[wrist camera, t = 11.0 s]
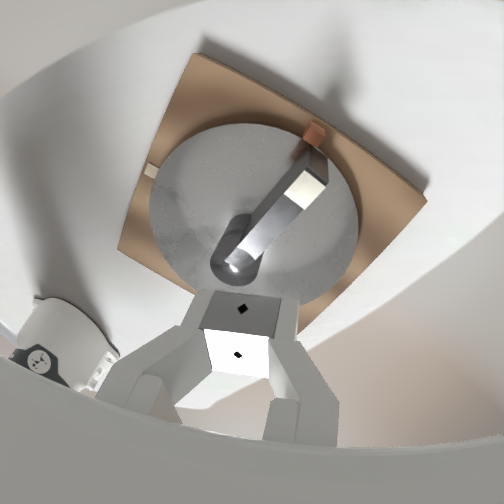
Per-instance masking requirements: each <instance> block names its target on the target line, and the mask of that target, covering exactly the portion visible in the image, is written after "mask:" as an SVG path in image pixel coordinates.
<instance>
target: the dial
mask: <svg viewBox="0 0 504 504" xmlns="http://www.w3.org/2000/svg"><path fill="white" fill-rule="evenodd" d="M149 217H150V224H151V229H152V232H153V235H154V239H155V241H156V243H157V246H158V248H159V250H160V252H161V253H162V255H163V257H164V258H165V260H166V261H167V263H168V264H169V265H170V267H171V268H172V269H173V270H174V271H175V272H176V273H177V275H178V276H179V277H180V278H181V279H183V280H184V281H185V282H186V283H187V284H188V285H190V286H191V287H192V288H194V289H195V290H196V291H198V290H199V289H208V290H215V291H216V290H218V291H226V292H234V293H242V294H251V295H262V296H273V297H289V298H299V299H300V303H299V306H301V305H304V304H306V303H309V302H311V301H313V300H315V299H317V298H318V297H320V296H321V295H323V294H324V293H326V292H327V291H329V290H330V289H331V288H332V287H333V286H334V285H335V284H336V283H337V282H338V281H339V280H340V278H341V277H342V276H343V275H344V273H345V272H346V270H347V268H348V267H349V265H350V263H351V261H352V258H353V256H354V253H355V249H356V245H357V241H358V228H359V227H358V215H357V210H356V205H355V201H354V197H353V195H352V192H351V190H350V187H349V185H348V183H347V181H346V179H345V178H344V176H343V174H342V173H341V171H340V170H339V168H338V167H337V166H336V165H335V163H334V162H333V161H332V160H331V159H330V158H329V157H328V156H327V155H326V154H325V153H324V152H323V151H322V150H321V149H320V148H316V147H315V146H313V145H311V144H310V143H308V142H307V141H305V140H304V139H303V137H301V136H299V135H297V134H296V133H294V132H292V131H289V130H286V129H283V128H280V127H277V126H273V125H268V124H263V123H255V122H236V123H227V124H223V125H218V126H214V127H211V128H209V129H206V130H204V131H201V132H199V133H197V134H196V135H194V136H192V137H191V138H189V139H187V140H186V141H184V142H183V143H182V144H181V145H179V146H178V147H177V148H176V149H175V150H174V151H173V152H172V153H171V154H170V155H169V156H168V157H167V158H166V159H165V161H164V162H163V164H162V166H161V167H160V169H159V170H158V172H157V175H156V177H155V179H154V182H153V185H152V189H151V192H150V200H149Z"/></svg>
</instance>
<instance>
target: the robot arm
mask: <svg viewBox="0 0 504 504" xmlns="http://www.w3.org/2000/svg"><path fill="white" fill-rule="evenodd" d="M299 303H300V299H299V298H289V297H273V296H262V295H251V294H242V293H234V292H226V291H218V290H216V291H215V290H208V289H199V290H198V291H197V293H196V295H195V297H194V299H193V301H192V303H191V305H190V307H189V309H188V311H187V313H186V315H185V317H184V319H183V321H182V323H181V325H180V326H176V325H175V326H174V327H172V328H171V329H169V330H167V331H166V332H164V333H163V334H161V335H159V336H158V337H156V338H155V339H153V340H151V341H150V342H148V343H147V344H145V345H143V346H142V347H140V348H138V349H137V350H135V351H134V352H132V353H130V354H129V355H127V356H125V357H124V358H122V359H121V360H119V361H118V359H119V358H120V356H119V354H118V353H117V352H116V351H115V350H114V349H113V348H112V347H111V346H110V345H109V343H108V342H107V340H106V338H105V337H104V335H103V334H102V332H101V331H100V329H99V328H98V327H97V326H96V325H95V324H94V323H93V322H92V321H91V320H90V319H89V318H88V317H87V316H86V315H85V314H84V313H82V312H81V311H80V310H79V309H77V308H76V307H74V306H73V305H71V304H69V303H67V302H65V301H63V300H60V299H57V298H47V299H45V300H40V299H34V300H33V302H32V308H33V312H32V314H31V315H30V317H29V318H28V319H27V321H26V322H25V324H24V325H23V327H22V328H21V330H20V331H19V333H18V334H17V342H18V349H15V351H14V352H13V353H12V354H11V355H10V357H9V358H8V359H7V358H5V357H3V356H1V355H0V504H504V434H500V435H495V436H490V437H485V438H479V439H472V440H466V441H458V442H451V443H443V444H432V445H421V446H405V447H372V448H371V447H367V448H366V447H337V434H338V418H339V401H338V399H337V398H336V396H335V395H334V393H333V392H332V390H331V389H330V387H329V386H328V384H327V383H326V381H325V379H324V378H323V376H322V375H321V373H320V372H319V370H318V369H317V367H316V366H315V365H314V363H313V361H312V360H311V358H310V356H309V355H308V353H307V352H306V350H305V349H304V347H303V346H302V344H301V343H300V341H296V338H297V327H298V316H299ZM110 368H111V369H110ZM109 369H110V371H109V373H108V375H107V376H106V378H105V380H104V382H103V383H102V385H101V387H100V389H99V391H98V392H97V394H96V396H95V398H94V397H91V396H88V395H86V394H83V393H80V391H81V390H83V389H84V387H86V388H88V389H89V390H91V391H93V389H94V388H95V386H96V384H97V382H98V381H97V380H99V379H100V378H101V377H102V376H103V375H104V374H105V373H106V372H107V371H108V370H109ZM212 370H217V371H225V372H232V373H240V374H246V375H252V376H259V377H266V378H268V380H269V383H270V384H271V387H272V389H273V392H274V393H275V396H276V399H274V400H273V401H271V403H270V408H269V412H268V417H267V421H266V426H265V431H264V435H263V439H262V440H258V439H252V438H246V437H239V436H234V435H228V434H223V433H217V432H212V431H208V430H203V429H198V428H194V427H190V426H185V425H182V424H183V423H182V421H181V419H180V417H179V415H178V413H177V411H176V409H175V407H174V405H175V404H176V403H177V402H178V401H179V400H181V399H182V398H183V397H184V396H185V395H186V394H188V393H189V392H190V391H191V390H192V389H193V388H194V387H195V386H197V385H198V384H199V383H200V382H201V381H202V380H203V379H204V378H206V377H207V376H208V375H209V374H210V373H211V372H212Z"/></svg>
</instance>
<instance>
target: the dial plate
mask: <svg viewBox="0 0 504 504" xmlns="http://www.w3.org/2000/svg"><path fill="white" fill-rule="evenodd" d="M236 122H255V123H263V124H268V125H273V126H277V127H280V128H283V129H286V130H289V131H292V132H294V133H296V134H297V135H299V136H301V137H303V139H304V140H305V141H307V142H308V143H310V144H311V145H313V146H315V147H316V148H320V149H321V150H322V151H323V152H324V153H325V154H326V155H327V156H328V157H329V158H330V159H331V160H332V161H333V162H334V163H335V165H336V166H337V167H338V168H339V170H340V171H341V173H342V174H343V176H344V178H345V179H346V181H347V183H348V185H349V187H350V190H351V192H352V195H353V197H354V201H355V205H356V210H357V215H358V227H359V228H358V241H357V245H356V249H355V253H354V256H353V258H352V261H351V263H350V265H349V267H348V268H347V270H346V272H345V273H344V275H343V276H342V277H341V278H340V280H339V281H338V282H337V283H336V284H335V285H334V286H333V287H332V288H331V289H330V290H329V291H327V292H326V293H324V294H323V295H321V296H320V297H318V298H317V299H315V300H313V301H311V302H309V303H306V304H304V305H301V306H299V316H298V327H297V335H298V334H299V333H300V332H301V331H302V330H303V329H304V328H305V327H307V326H308V325H309V324H310V323H311V322H312V321H313V320H314V319H315V318H316V317H317V316H318V315H319V314H320V313H322V312H323V311H324V310H325V309H326V308H327V307H328V306H329V305H330V304H331V303H332V302H333V301H334V300H335V299H336V298H337V297H338V296H339V295H340V294H341V293H342V292H343V291H344V290H345V289H346V288H347V287H348V286H349V285H350V284H351V283H352V282H353V281H354V280H355V279H356V278H357V277H358V276H359V275H360V274H361V273H362V272H363V271H364V270H365V269H366V268H367V267H368V266H369V265H370V264H371V263H372V262H373V261H374V260H375V259H376V258H377V257H378V256H379V255H380V254H381V253H382V252H383V250H384V249H385V248H386V247H387V246H388V245H389V244H390V243H391V242H392V241H393V240H394V239H395V238H396V236H397V235H398V234H399V233H400V232H401V231H402V230H403V229H404V228H405V227H406V225H407V224H408V223H409V222H410V221H411V220H412V219H413V218H414V216H415V215H416V214H417V213H418V212H419V211H420V210H421V208H422V207H423V206H424V205H425V204H426V203H427V200H426V198H425V197H424V195H423V194H422V193H421V192H420V191H419V190H418V189H416V188H415V187H414V186H413V185H411V184H410V183H409V182H408V181H407V180H405V179H404V178H403V177H402V176H400V175H399V174H398V173H396V172H395V171H394V170H393V169H391V168H390V167H389V166H387V165H386V164H385V163H384V162H382V161H381V160H380V159H378V158H377V157H376V156H374V155H373V154H371V153H370V152H369V151H367V150H366V149H365V148H363V147H362V146H360V145H359V144H358V143H356V142H355V141H353V140H352V139H350V138H349V137H348V136H346V135H345V134H343V133H342V132H340V131H339V130H337V129H336V128H334V127H333V126H331V125H330V124H328V123H327V122H325V121H323V120H322V119H320V118H319V117H317V116H316V115H314V114H312V113H311V112H309V111H308V110H306V109H304V108H303V107H301V106H299V105H298V104H296V103H294V102H293V101H291V100H289V99H288V98H286V97H284V96H283V95H281V94H279V93H277V92H275V91H274V90H272V89H270V88H268V87H267V86H265V85H263V84H261V83H259V82H257V81H255V80H254V79H252V78H250V77H248V76H246V75H244V74H242V73H240V72H238V71H236V70H234V69H232V68H230V67H228V66H226V65H224V64H222V63H220V62H218V61H216V60H214V59H211V58H209V57H207V56H205V55H203V54H200V53H193V54H192V56H191V58H190V60H189V62H188V64H187V66H186V68H185V70H184V72H183V74H182V77H181V79H180V81H179V83H178V85H177V87H176V89H175V92H174V94H173V96H172V98H171V100H170V103H169V105H168V107H167V109H166V112H165V114H164V116H163V119H162V121H161V124H160V126H159V128H158V131H157V133H156V136H155V138H154V141H153V143H152V146H151V149H150V151H149V154H148V156H147V159H146V162H145V164H144V167H143V170H142V173H141V175H140V178H139V181H138V184H137V187H136V190H135V193H134V196H133V199H132V202H131V205H130V208H129V211H128V214H127V217H126V220H125V224H124V227H123V230H122V234H121V237H120V241H119V244H118V248H117V250H119V251H120V252H122V253H123V254H125V255H127V256H128V257H130V258H132V259H133V260H135V261H137V262H138V263H140V264H142V265H143V266H145V267H147V268H149V269H150V270H152V271H154V272H155V273H157V274H159V275H161V276H162V277H164V278H166V279H168V280H169V281H171V282H173V283H175V284H176V285H178V286H180V287H182V288H183V289H185V290H187V291H189V292H190V293H192V294H194V295H196V293H197V291H196V290H195V289H194V288H192V287H191V286H190V285H188V284H187V283H186V282H185V281H184V280H183V279H181V278H180V277H179V276H178V275H177V273H176V272H175V271H174V270H173V269H172V268H171V267H170V265H169V264H168V263H167V261H166V260H165V258H164V257H163V255H162V253H161V252H160V250H159V248H158V246H157V243H156V241H155V239H154V235H153V232H152V229H151V224H150V217H149V200H150V192H151V189H152V185H153V182H154V179H155V177H156V175H157V172H158V170H159V169H160V167H161V166H162V164H163V162H164V161H165V159H166V158H167V157H168V156H169V155H170V154H171V153H172V152H173V151H174V150H175V149H176V148H177V147H178V146H179V145H181V144H182V143H183V142H184V141H186V140H187V139H189V138H191V137H192V136H194V135H196V134H197V133H199V132H201V131H204V130H206V129H209V128H211V127H214V126H218V125H223V124H227V123H236Z"/></svg>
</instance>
